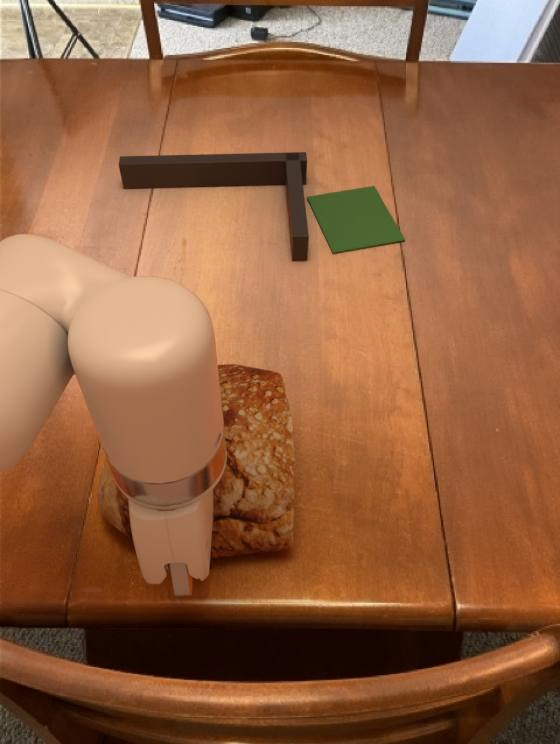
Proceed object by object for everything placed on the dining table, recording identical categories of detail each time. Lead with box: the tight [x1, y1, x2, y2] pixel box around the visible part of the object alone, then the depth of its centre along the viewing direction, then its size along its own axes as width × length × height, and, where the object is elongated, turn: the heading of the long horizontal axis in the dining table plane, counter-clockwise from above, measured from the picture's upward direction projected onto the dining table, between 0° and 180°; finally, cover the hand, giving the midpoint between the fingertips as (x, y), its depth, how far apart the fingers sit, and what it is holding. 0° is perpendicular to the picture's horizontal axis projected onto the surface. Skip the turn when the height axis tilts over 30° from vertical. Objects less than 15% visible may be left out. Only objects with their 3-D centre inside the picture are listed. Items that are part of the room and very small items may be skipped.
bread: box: [96, 363, 296, 559], centre depth 64 cm, size 20×18×10 cm
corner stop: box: [118, 151, 310, 262], centre depth 91 cm, size 26×18×4 cm
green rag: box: [306, 185, 406, 255], centre depth 92 cm, size 10×12×1 cm
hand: (193, 561), depth 58 cm, fingers closed
